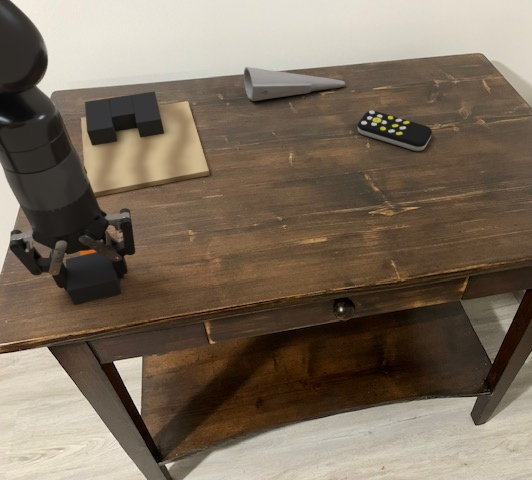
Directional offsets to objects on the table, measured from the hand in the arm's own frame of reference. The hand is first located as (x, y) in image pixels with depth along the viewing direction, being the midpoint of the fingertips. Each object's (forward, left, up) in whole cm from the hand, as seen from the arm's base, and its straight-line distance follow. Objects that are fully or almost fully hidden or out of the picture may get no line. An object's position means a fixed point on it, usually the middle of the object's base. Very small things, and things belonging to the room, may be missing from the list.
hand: (95, 279), depth 71 cm
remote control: (+52, +19, -1) cm, 55 cm away
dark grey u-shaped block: (+7, +34, 0) cm, 35 cm away
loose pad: (0, +1, -1) cm, 2 cm away
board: (+9, +28, -1) cm, 29 cm away
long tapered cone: (+39, +38, -1) cm, 55 cm away
